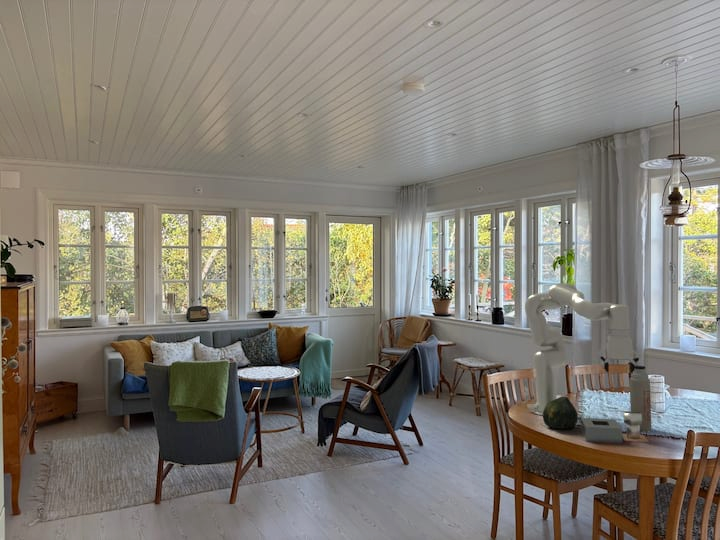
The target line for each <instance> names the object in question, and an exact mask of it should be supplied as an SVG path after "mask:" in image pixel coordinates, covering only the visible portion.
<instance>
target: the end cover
mask: <svg viewBox="0 0 720 540" xmlns="http://www.w3.org/2000/svg"><path fill="white" fill-rule="evenodd" d="M622 414H623V423H624V424H625V425H626V426H625V427H626V434H627V437H628V438H631V439H640V435H641V432H640V424H642V415H641V413H640V412H636V411H631V410H625V411H623V413H622Z"/></svg>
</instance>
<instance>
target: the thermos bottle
mask: <svg viewBox="0 0 720 540" xmlns="http://www.w3.org/2000/svg"><path fill="white" fill-rule="evenodd" d="M630 376H631V377H630V378H629V399H630V400H629V402H630V403H629V404H630V411H636V412H640V413H641V415H642V424H640V431H644V432H643V433H646V432H647V431H649V432H651V431H652V411H651V408H652V405H651V401H652V400H651V380H650V378H649V374H648V373H647V371H646V366H643V365H634V371H633V373H630ZM647 433H648V432H647Z"/></svg>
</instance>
